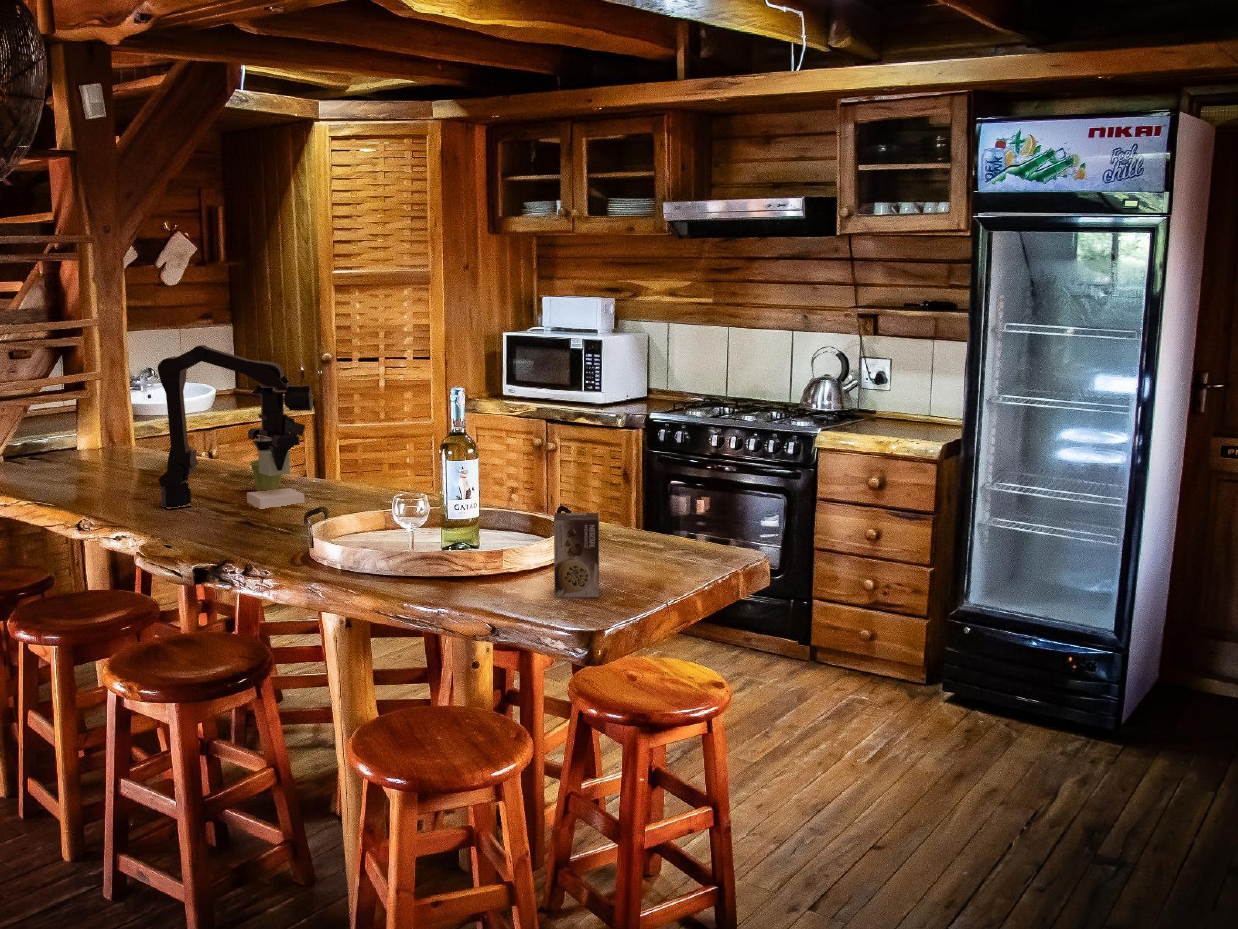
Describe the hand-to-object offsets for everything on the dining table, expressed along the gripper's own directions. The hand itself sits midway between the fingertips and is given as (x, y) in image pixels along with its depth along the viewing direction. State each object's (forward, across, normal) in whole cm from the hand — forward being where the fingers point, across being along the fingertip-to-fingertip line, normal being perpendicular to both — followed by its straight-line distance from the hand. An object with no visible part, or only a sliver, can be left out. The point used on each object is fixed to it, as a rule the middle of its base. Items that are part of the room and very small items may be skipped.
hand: (274, 468), depth 317 cm
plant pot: (+10, +19, -7) cm, 23 cm away
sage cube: (+1, 0, 0) cm, 1 cm away
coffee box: (+10, -116, -9) cm, 116 cm away
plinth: (+11, 0, 0) cm, 11 cm away
